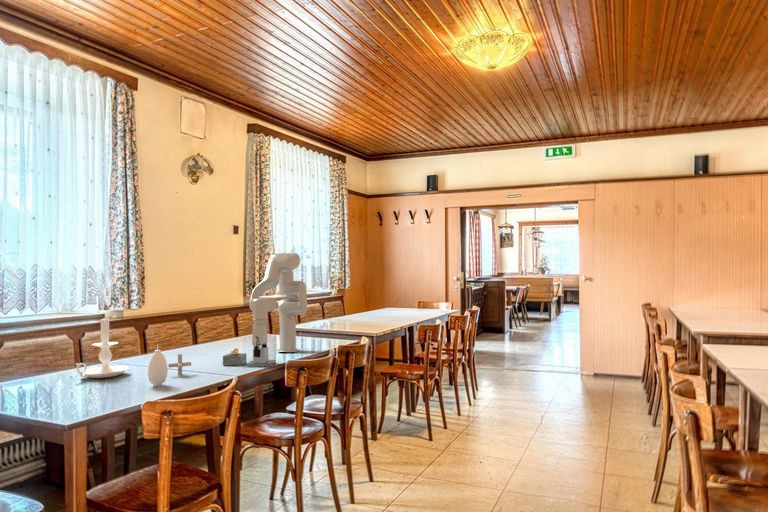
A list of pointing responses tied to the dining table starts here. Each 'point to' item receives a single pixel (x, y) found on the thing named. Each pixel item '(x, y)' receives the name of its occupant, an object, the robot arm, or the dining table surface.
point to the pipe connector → (179, 364)
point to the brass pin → (234, 351)
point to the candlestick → (103, 357)
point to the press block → (234, 359)
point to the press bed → (260, 363)
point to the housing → (261, 356)
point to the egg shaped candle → (157, 368)
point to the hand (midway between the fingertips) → (260, 355)
